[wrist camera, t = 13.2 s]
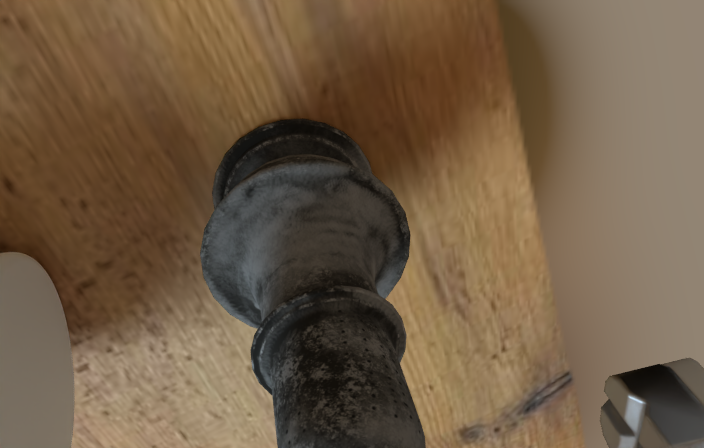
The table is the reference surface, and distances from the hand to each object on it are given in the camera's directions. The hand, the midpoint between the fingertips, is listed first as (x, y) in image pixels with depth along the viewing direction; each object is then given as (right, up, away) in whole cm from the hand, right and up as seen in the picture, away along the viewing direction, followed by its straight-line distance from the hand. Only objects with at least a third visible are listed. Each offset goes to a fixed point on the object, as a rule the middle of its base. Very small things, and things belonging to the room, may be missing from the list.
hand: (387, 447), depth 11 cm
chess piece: (-3, +5, +9) cm, 11 cm away
